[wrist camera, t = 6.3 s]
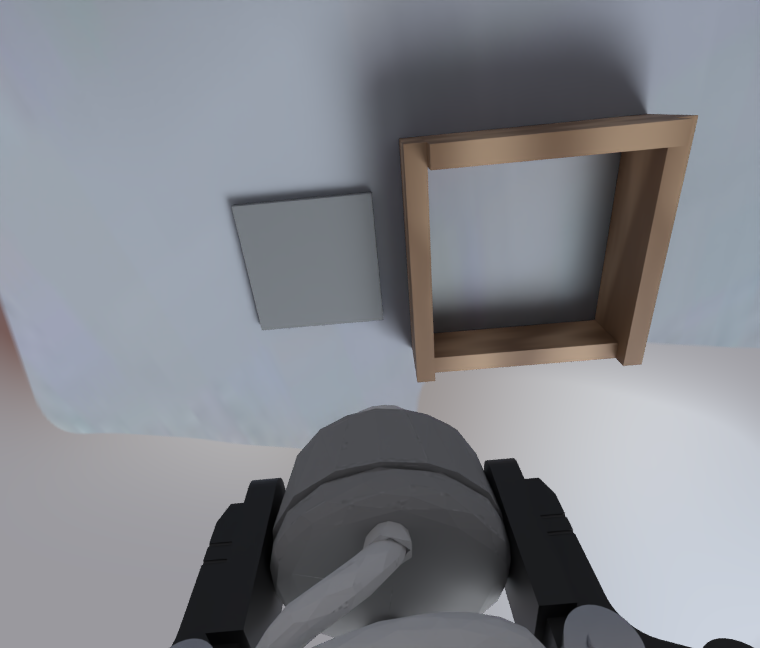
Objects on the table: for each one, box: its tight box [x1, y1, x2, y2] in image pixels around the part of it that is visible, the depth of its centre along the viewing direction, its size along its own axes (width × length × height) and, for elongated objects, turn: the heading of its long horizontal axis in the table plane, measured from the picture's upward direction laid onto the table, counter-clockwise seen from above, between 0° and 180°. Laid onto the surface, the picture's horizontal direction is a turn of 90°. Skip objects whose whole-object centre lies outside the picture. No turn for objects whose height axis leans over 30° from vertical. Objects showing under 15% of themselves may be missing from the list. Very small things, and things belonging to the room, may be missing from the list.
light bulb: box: [256, 405, 546, 648], centre depth 8 cm, size 6×6×12 cm
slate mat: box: [232, 192, 383, 330], centre depth 29 cm, size 9×9×1 cm
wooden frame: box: [399, 114, 698, 382], centre depth 26 cm, size 15×15×6 cm
